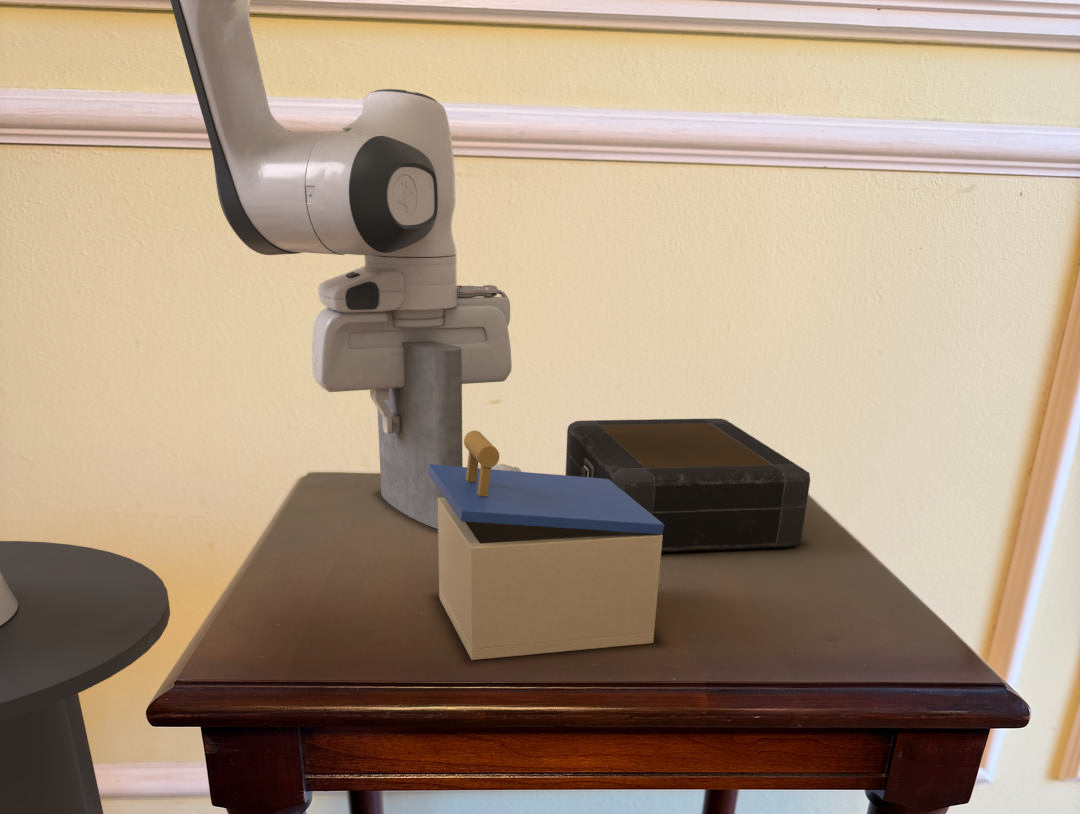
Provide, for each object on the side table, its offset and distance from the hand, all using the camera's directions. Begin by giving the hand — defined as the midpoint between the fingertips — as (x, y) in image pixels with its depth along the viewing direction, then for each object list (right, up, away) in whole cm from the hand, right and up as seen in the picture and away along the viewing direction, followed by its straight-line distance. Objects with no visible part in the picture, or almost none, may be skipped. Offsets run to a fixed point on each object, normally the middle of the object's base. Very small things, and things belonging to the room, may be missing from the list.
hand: (417, 430), depth 106 cm
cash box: (+27, -8, +5) cm, 29 cm away
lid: (+13, -13, -26) cm, 32 cm away
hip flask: (0, -8, +4) cm, 9 cm away
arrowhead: (+9, -2, +15) cm, 17 cm away
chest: (+13, -22, -22) cm, 33 cm away
